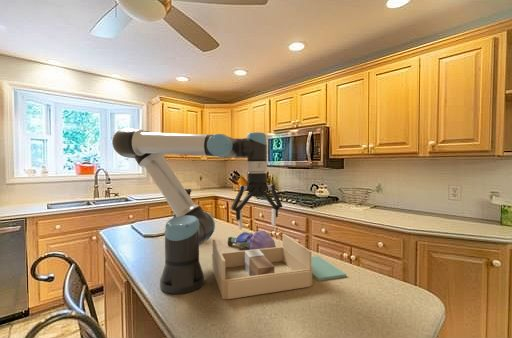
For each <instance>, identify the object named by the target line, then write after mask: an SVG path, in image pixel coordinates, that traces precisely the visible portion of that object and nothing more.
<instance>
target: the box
mask: <svg viewBox="0 0 512 338" xmlns="http://www.w3.org/2000/svg"><path fill="white" fill-rule="evenodd" d="M249 250H250V249H249ZM244 269H245V271H246V273H247V275H248V276H255V275H263V274H270V273H275V266H274V264H273V262H270V261H269V260H268V259H267V258H266V257H265V255H264V254H263V253H262V252H261V251H260V250H250V251H245V265H244Z"/></svg>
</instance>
